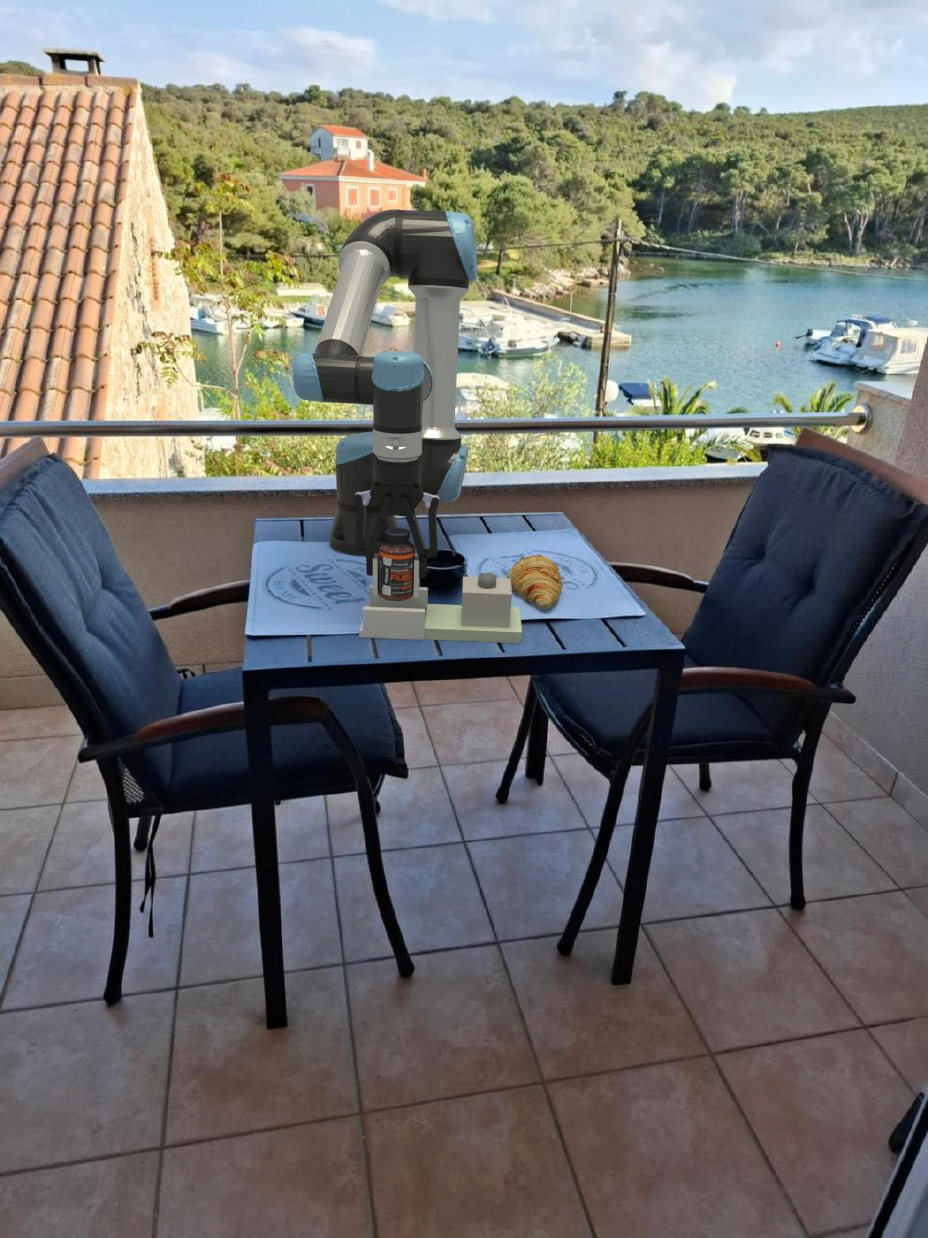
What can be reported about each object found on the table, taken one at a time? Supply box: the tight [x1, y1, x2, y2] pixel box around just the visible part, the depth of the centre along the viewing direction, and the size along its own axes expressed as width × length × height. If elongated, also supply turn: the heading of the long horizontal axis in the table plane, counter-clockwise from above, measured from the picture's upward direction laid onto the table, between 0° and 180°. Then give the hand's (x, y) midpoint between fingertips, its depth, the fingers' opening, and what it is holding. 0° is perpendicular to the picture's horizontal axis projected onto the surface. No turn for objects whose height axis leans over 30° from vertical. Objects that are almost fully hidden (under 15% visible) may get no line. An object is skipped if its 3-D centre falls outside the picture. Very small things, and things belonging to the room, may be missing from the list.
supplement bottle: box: [378, 527, 416, 601], centre depth 136 cm, size 6×6×11 cm
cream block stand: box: [358, 572, 523, 644], centre depth 139 cm, size 10×27×10 cm, turn 89°
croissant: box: [506, 554, 563, 610], centre depth 156 cm, size 21×10×8 cm, turn 8°
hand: (396, 593), depth 138 cm, fingers closed on supplement bottle, 6 cm apart
